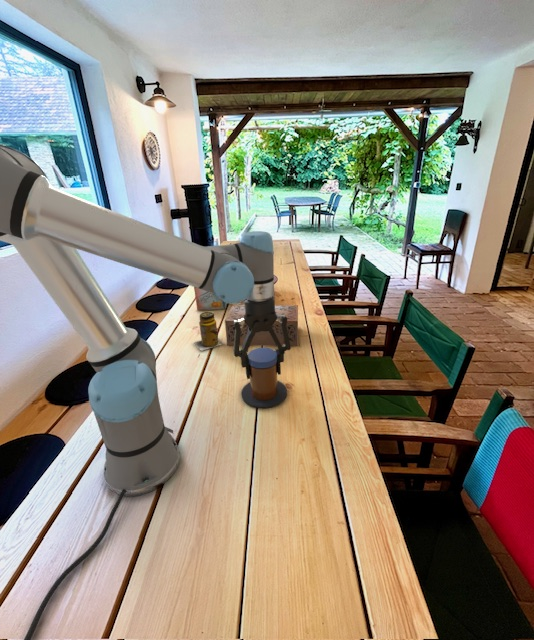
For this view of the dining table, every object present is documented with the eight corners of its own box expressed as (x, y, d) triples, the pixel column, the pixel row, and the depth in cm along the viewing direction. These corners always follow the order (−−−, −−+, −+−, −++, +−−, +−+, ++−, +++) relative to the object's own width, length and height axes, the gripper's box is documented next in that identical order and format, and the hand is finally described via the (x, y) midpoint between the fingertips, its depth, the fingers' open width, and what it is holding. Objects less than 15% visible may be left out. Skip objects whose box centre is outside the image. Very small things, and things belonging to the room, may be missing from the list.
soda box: (226, 310, 149) (224, 283, 143) (196, 311, 148) (192, 285, 143) (231, 283, 186) (229, 261, 180) (207, 284, 185) (204, 262, 180)
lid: (254, 351, 91) (254, 345, 91) (281, 355, 89) (280, 349, 88) (243, 365, 85) (242, 359, 84) (271, 370, 82) (271, 364, 81)
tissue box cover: (297, 328, 129) (297, 305, 124) (297, 346, 116) (297, 320, 111) (234, 328, 131) (232, 305, 127) (227, 345, 118) (224, 320, 114)
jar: (272, 402, 87) (271, 366, 82) (246, 397, 89) (244, 362, 84) (280, 386, 93) (280, 351, 89) (256, 381, 96) (254, 348, 91)
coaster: (279, 412, 84) (279, 410, 84) (234, 403, 88) (233, 401, 88) (292, 384, 95) (292, 382, 95) (251, 377, 99) (251, 375, 99)
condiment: (222, 344, 119) (219, 314, 114) (201, 351, 115) (196, 321, 110) (214, 337, 124) (210, 308, 119) (193, 343, 120) (189, 314, 115)
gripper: (218, 306, 74) (226, 387, 84) (304, 297, 78) (303, 376, 87) (216, 295, 81) (224, 371, 90) (295, 287, 84) (295, 362, 94)
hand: (263, 374), depth 89 cm, fingers closed on lid, 8 cm apart
